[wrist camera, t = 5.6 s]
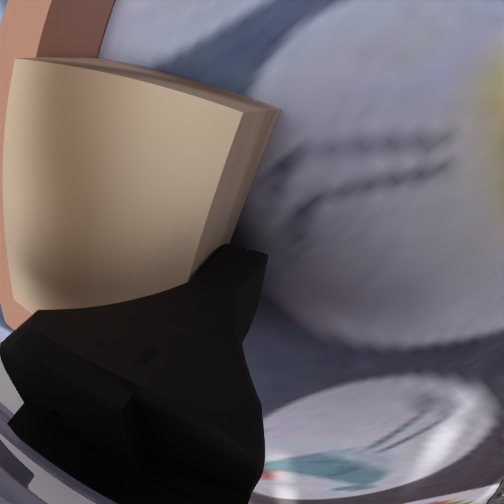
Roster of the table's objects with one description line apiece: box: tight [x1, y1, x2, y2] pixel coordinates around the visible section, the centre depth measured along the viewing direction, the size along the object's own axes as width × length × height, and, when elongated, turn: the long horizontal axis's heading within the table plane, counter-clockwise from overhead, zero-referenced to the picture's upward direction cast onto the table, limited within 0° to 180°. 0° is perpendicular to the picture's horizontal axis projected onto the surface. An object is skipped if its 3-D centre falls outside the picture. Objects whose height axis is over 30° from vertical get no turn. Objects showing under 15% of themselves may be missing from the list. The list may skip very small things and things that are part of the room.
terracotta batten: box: [0, 0, 115, 330], centre depth 9 cm, size 3×20×3 cm, turn 161°
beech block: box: [2, 57, 281, 314], centre depth 9 cm, size 7×9×4 cm
